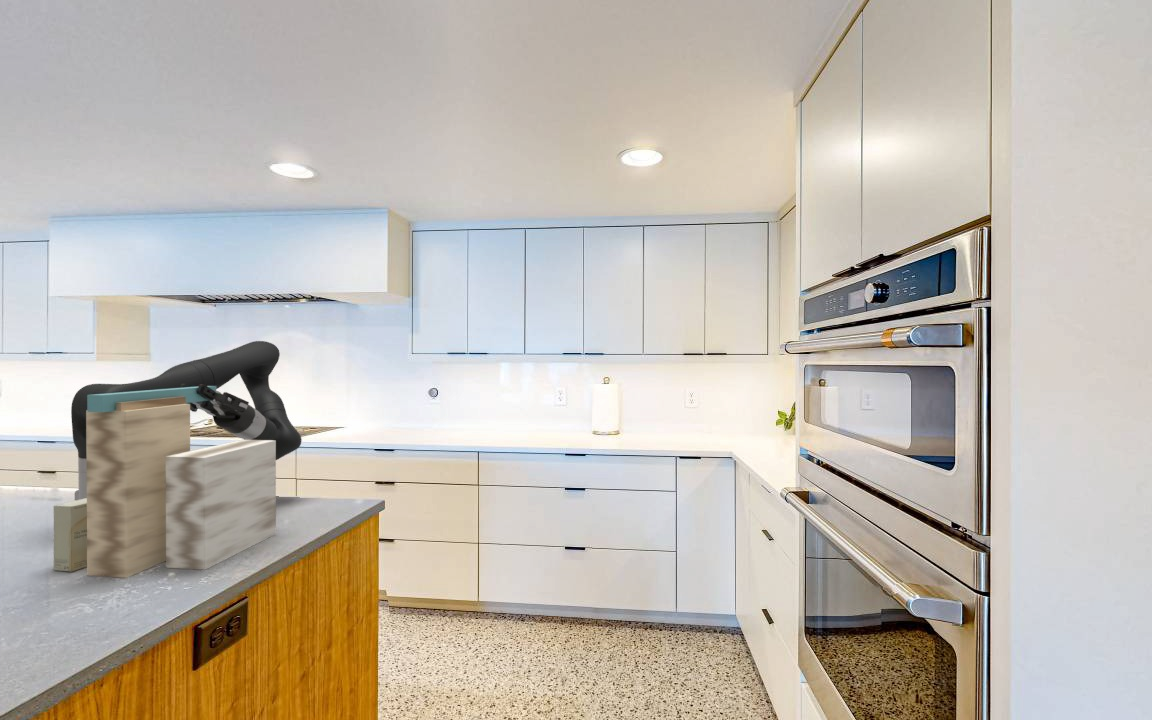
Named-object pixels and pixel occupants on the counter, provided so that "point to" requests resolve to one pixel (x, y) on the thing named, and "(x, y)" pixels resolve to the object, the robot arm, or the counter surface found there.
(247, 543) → the stepped wooden blocks
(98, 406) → the rod
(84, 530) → the skincare box
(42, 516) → the counter surface
